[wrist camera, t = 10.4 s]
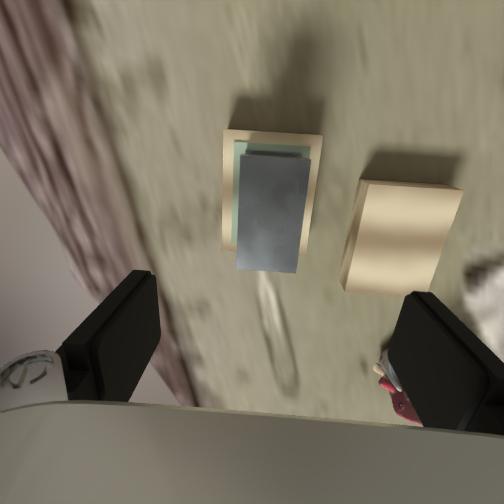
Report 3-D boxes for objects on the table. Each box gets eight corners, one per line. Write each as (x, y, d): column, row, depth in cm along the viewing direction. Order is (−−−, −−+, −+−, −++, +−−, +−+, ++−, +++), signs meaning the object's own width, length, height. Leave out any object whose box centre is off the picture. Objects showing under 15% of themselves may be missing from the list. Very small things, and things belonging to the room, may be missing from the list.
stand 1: (301, 245, 33) (305, 257, 30) (225, 240, 33) (221, 251, 30) (317, 134, 28) (323, 135, 25) (227, 129, 28) (223, 129, 25)
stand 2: (412, 283, 34) (425, 297, 31) (338, 278, 34) (344, 291, 31) (445, 184, 29) (464, 190, 26) (359, 179, 29) (369, 184, 27)
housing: (289, 243, 29) (295, 273, 23) (241, 240, 29) (235, 268, 23) (300, 152, 26) (311, 159, 19) (246, 149, 26) (240, 155, 20)
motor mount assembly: (415, 315, 33) (522, 416, 26) (435, 316, 41) (522, 393, 33) (349, 372, 37) (426, 473, 30) (380, 363, 45) (446, 441, 38)
